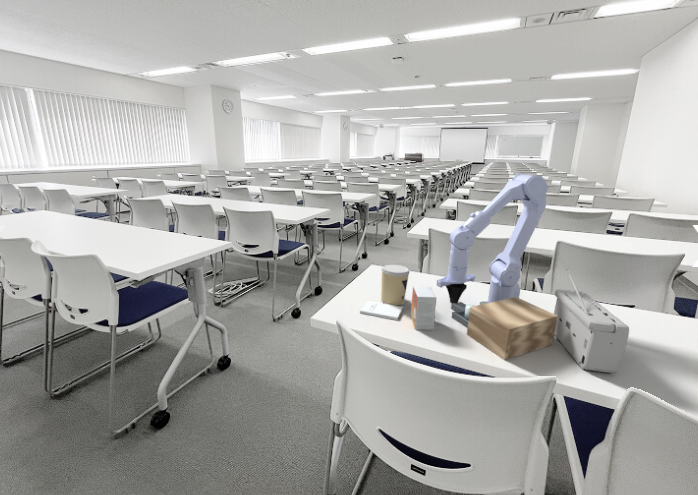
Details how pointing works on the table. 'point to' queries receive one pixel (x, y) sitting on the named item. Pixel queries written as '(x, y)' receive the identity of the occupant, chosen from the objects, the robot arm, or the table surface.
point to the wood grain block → (511, 327)
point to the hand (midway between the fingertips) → (453, 303)
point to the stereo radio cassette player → (589, 331)
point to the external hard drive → (382, 310)
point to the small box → (423, 307)
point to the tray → (462, 312)
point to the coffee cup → (394, 284)
